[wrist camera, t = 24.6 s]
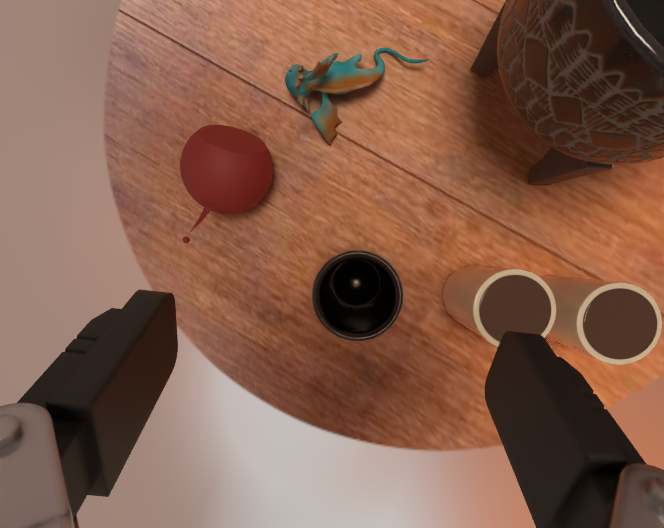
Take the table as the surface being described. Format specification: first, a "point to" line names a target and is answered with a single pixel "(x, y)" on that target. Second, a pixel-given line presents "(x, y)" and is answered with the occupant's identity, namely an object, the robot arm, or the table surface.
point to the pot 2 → (604, 318)
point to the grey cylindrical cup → (357, 295)
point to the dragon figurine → (333, 85)
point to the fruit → (225, 170)
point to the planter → (582, 80)
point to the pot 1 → (499, 301)
